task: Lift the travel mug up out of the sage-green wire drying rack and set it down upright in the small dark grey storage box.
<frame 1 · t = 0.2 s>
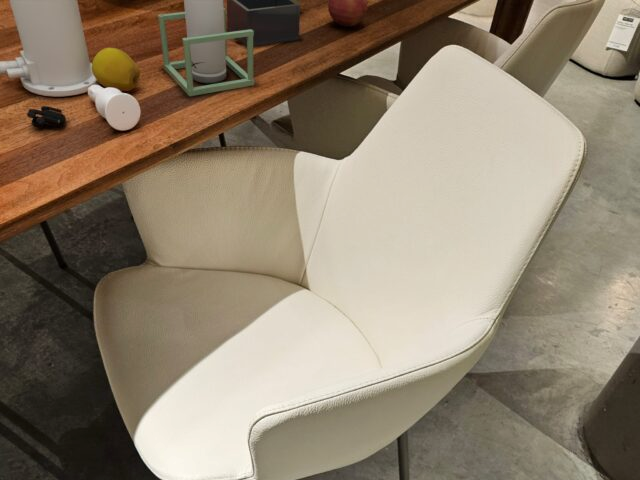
travel mug: (208, 78, 103), resting in rack
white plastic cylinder: (123, 112, 85), point 3 cm above the table
vase: (286, 13, 129), on the table
rack: (208, 77, 103), on the table
lemon: (135, 83, 94), point 2 cm above the table
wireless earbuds: (66, 124, 87), on the table
dark grey storage box: (263, 35, 118), on the table
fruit: (345, 28, 125), on the table
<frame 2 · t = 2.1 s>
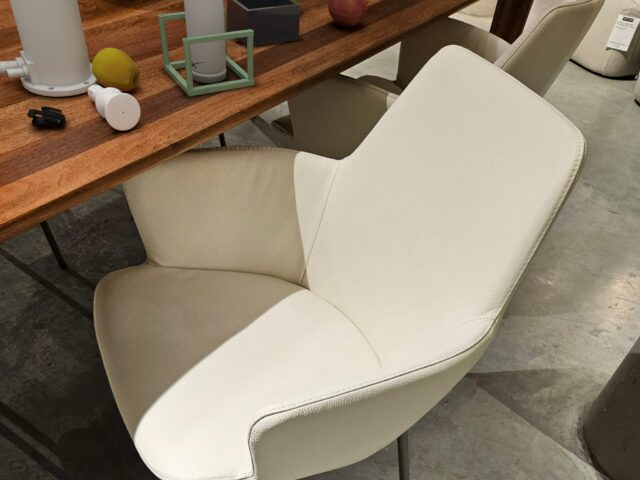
nothing on the table moved.
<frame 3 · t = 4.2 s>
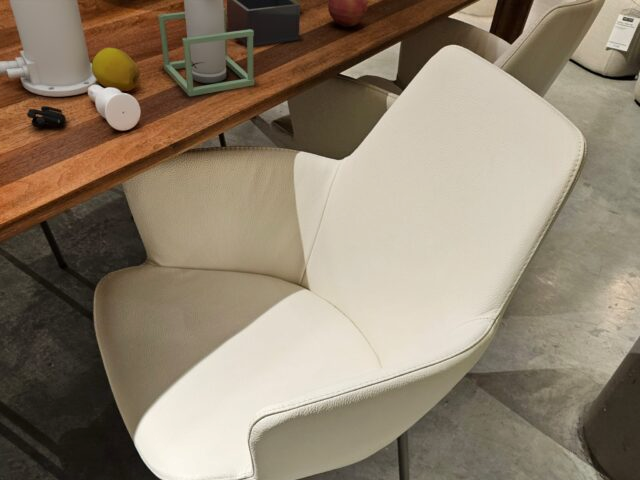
travel mug: (208, 78, 103), resting in rack, touching gripper
everything else where it was.
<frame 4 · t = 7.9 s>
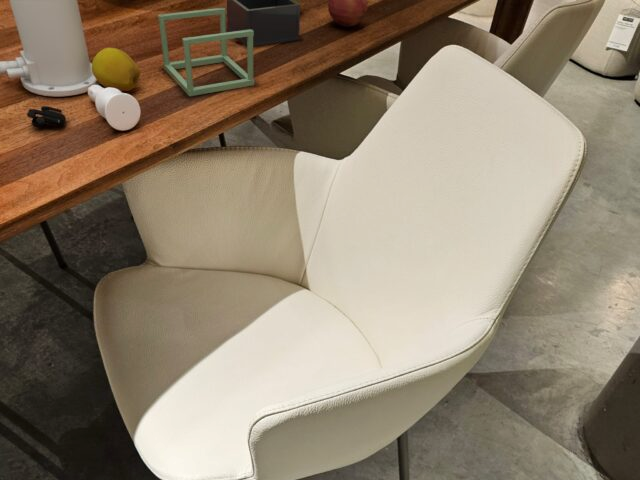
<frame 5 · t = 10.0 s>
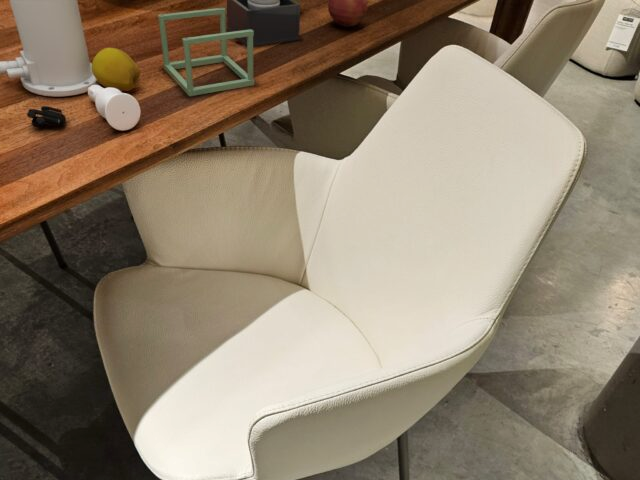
travel mug: (263, 10, 115), point 5 cm above the table, touching gripper
everything else where it was.
when the fingers open (16 cm above the table, at t = 11.7 s): travel mug stays where it is, resting on dark grey storage box.
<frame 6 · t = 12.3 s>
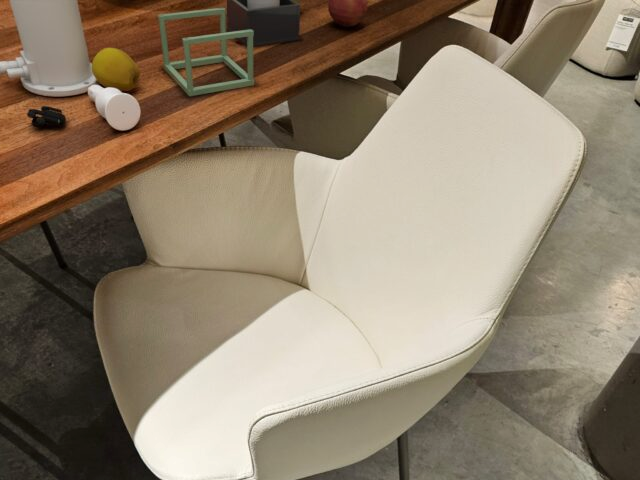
travel mug: (263, 33, 118), resting on dark grey storage box
everything else where it was.
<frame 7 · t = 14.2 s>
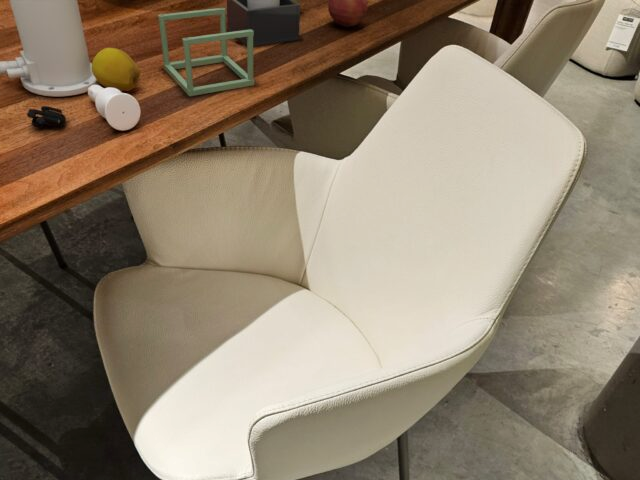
nothing on the table moved.
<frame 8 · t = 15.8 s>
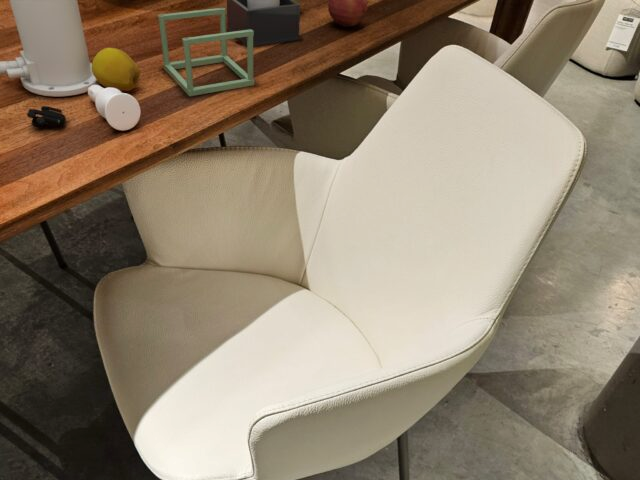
nothing on the table moved.
at the end: travel mug inside the target area in the dark grey storage box (0.3 cm from its centre), point 0.4 cm above the dark grey storage box's base; travel mug tilted 0°; the gripper is holding nothing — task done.
